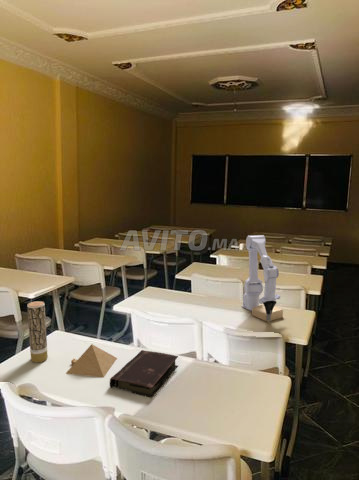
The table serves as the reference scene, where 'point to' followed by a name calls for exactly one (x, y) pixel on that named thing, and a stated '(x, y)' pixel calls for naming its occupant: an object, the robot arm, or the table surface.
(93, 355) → the model pyramid
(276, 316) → the carton
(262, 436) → the table surface
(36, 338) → the bark-patterned cylinder
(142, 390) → the diary
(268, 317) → the carton flap
